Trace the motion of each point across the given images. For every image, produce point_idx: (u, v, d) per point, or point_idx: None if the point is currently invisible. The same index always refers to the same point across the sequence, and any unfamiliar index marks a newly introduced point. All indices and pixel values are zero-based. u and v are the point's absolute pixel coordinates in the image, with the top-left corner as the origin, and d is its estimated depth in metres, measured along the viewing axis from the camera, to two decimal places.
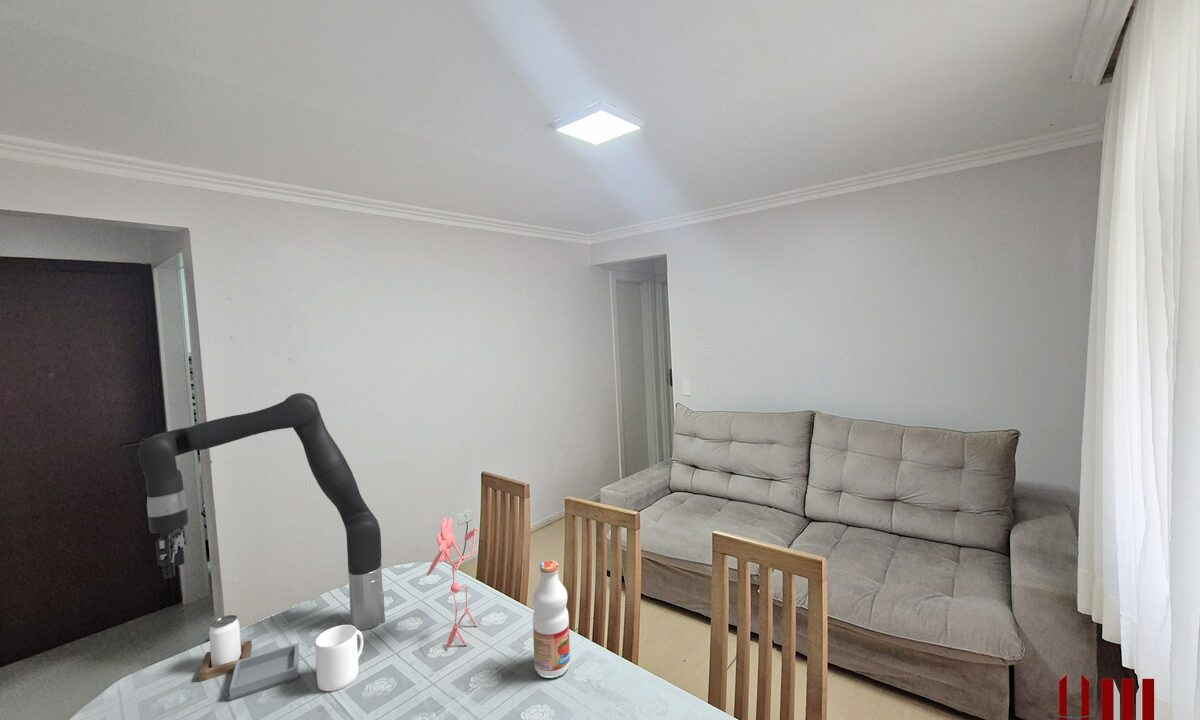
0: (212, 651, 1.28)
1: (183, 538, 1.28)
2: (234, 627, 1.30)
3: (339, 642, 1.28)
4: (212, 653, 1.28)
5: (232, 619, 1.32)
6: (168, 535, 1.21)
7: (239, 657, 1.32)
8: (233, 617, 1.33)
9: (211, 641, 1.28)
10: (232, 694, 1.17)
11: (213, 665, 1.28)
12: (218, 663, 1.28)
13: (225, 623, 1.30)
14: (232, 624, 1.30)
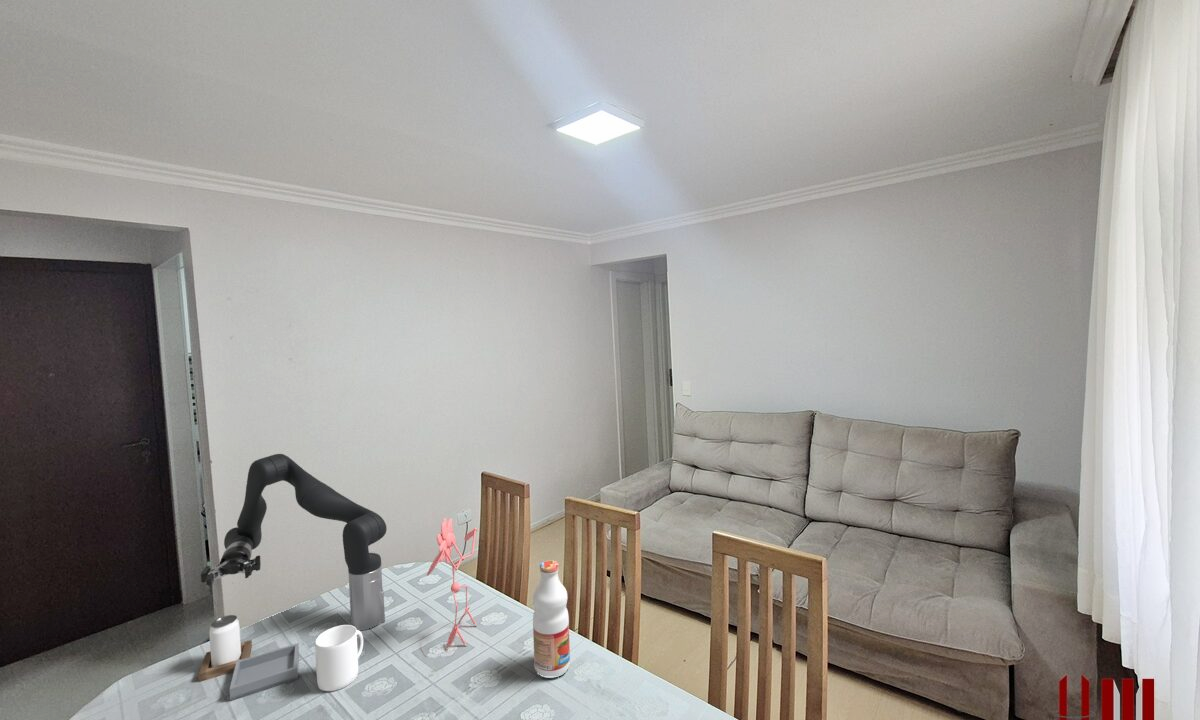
0: (212, 651, 1.28)
1: (245, 560, 1.47)
2: (234, 627, 1.30)
3: (339, 642, 1.28)
4: (212, 653, 1.28)
5: (232, 619, 1.32)
6: None
7: (239, 657, 1.32)
8: (233, 617, 1.33)
9: (211, 641, 1.28)
10: (232, 694, 1.17)
11: (213, 665, 1.28)
12: (218, 663, 1.28)
13: (225, 623, 1.30)
14: (232, 624, 1.30)
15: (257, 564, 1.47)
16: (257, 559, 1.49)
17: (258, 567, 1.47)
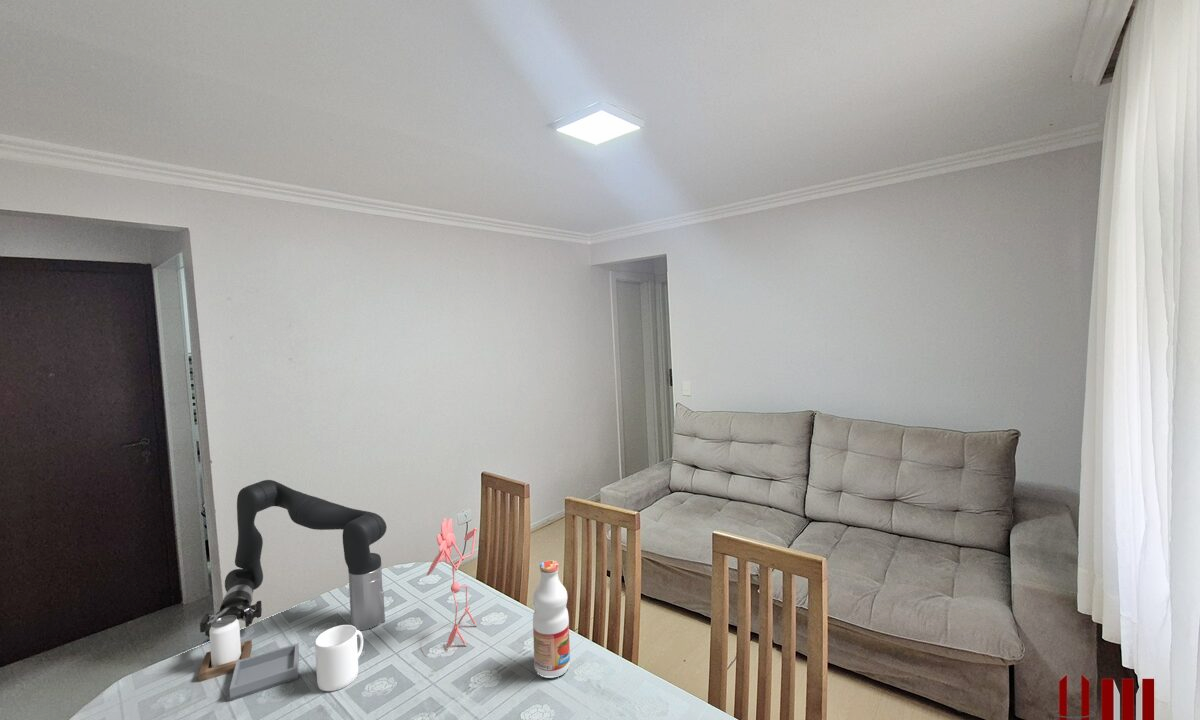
0: (212, 651, 1.28)
1: (245, 607, 1.43)
2: (234, 627, 1.30)
3: (339, 642, 1.28)
4: (212, 653, 1.28)
5: (232, 619, 1.32)
6: None
7: (239, 657, 1.32)
8: (233, 617, 1.33)
9: (211, 641, 1.28)
10: (232, 694, 1.17)
11: (213, 665, 1.28)
12: (218, 663, 1.28)
13: (225, 623, 1.30)
14: (232, 624, 1.30)
15: (258, 611, 1.42)
16: (258, 605, 1.44)
17: (259, 614, 1.42)
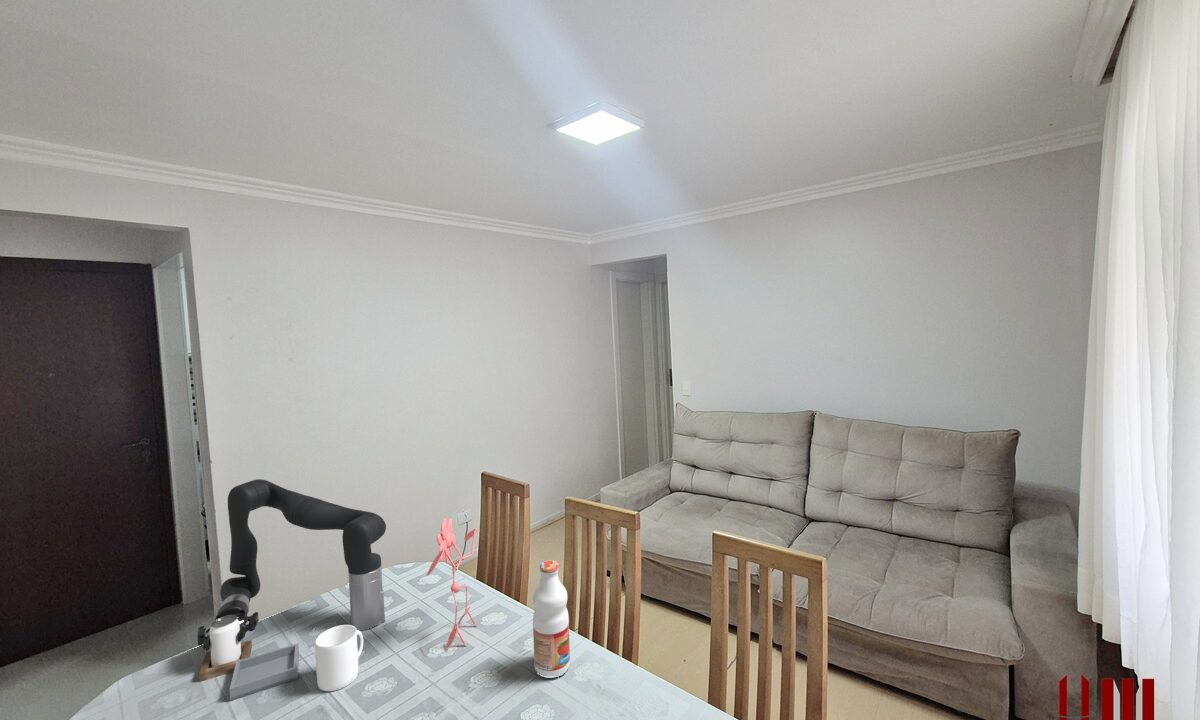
0: (212, 651, 1.28)
1: (240, 619, 1.36)
2: (234, 627, 1.30)
3: (339, 642, 1.28)
4: (212, 653, 1.28)
5: (232, 619, 1.32)
6: None
7: (239, 657, 1.32)
8: (233, 617, 1.33)
9: (211, 641, 1.28)
10: (232, 694, 1.17)
11: (213, 665, 1.28)
12: (218, 663, 1.28)
13: (225, 623, 1.30)
14: (232, 624, 1.30)
15: (251, 624, 1.35)
16: (253, 617, 1.38)
17: (252, 627, 1.36)
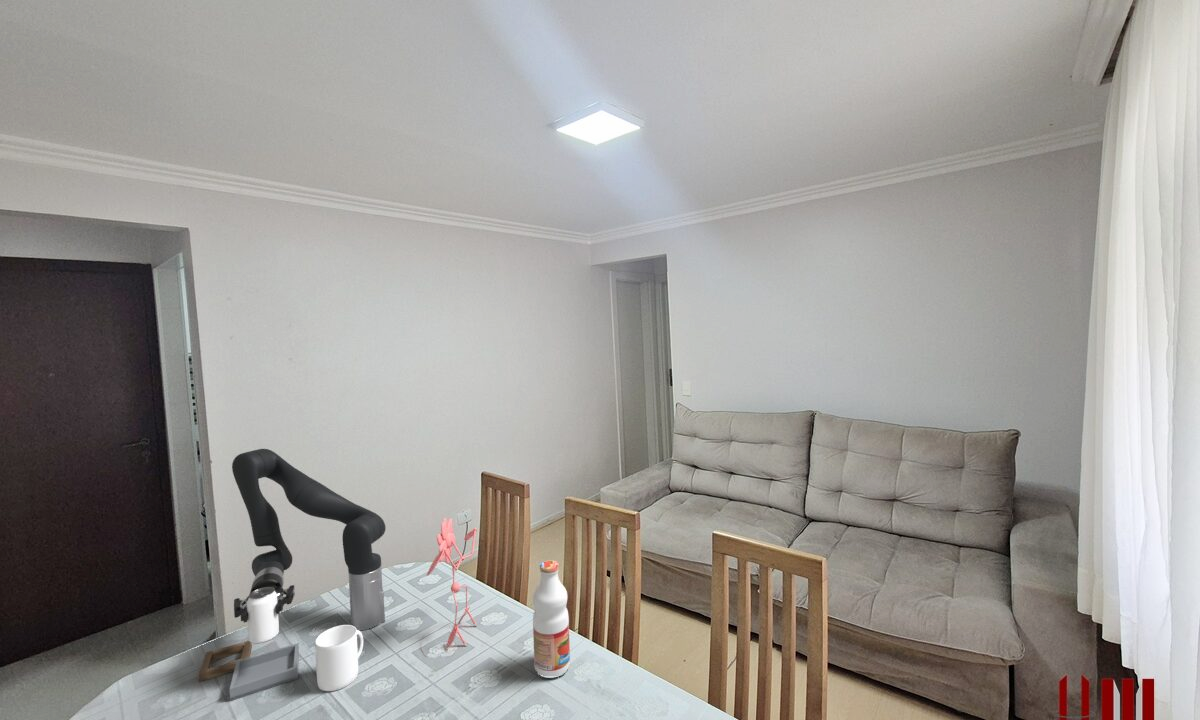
0: (250, 623, 1.22)
1: (276, 591, 1.31)
2: (273, 598, 1.25)
3: (339, 642, 1.28)
4: (249, 626, 1.22)
5: (270, 591, 1.26)
6: None
7: (277, 630, 1.26)
8: (271, 589, 1.27)
9: (249, 613, 1.22)
10: (232, 694, 1.17)
11: (251, 638, 1.23)
12: (256, 636, 1.22)
13: (263, 595, 1.24)
14: (270, 596, 1.24)
15: (288, 597, 1.30)
16: (289, 590, 1.32)
17: (289, 600, 1.30)
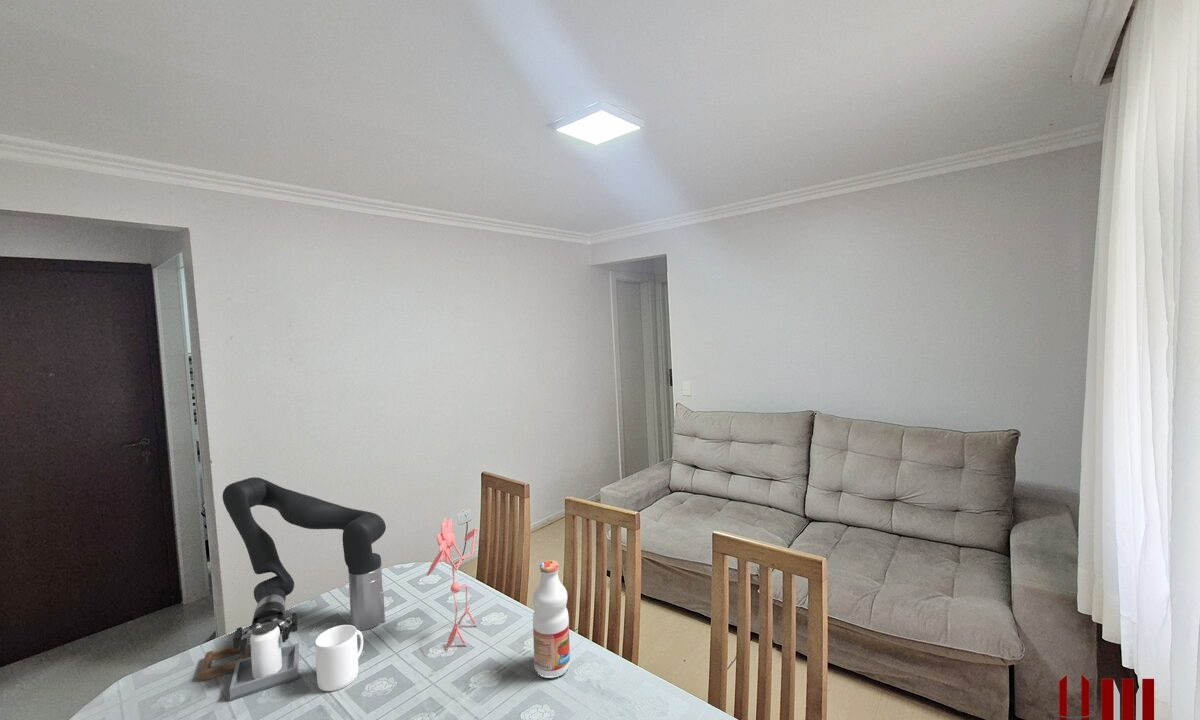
0: (253, 660, 1.23)
1: (280, 620, 1.31)
2: (275, 634, 1.25)
3: (339, 642, 1.28)
4: (252, 662, 1.23)
5: (273, 626, 1.26)
6: None
7: (280, 666, 1.26)
8: (273, 624, 1.27)
9: (252, 649, 1.23)
10: (232, 694, 1.17)
11: (254, 674, 1.23)
12: (259, 672, 1.23)
13: (266, 630, 1.25)
14: (273, 631, 1.25)
15: (294, 624, 1.31)
16: (294, 618, 1.33)
17: (295, 628, 1.31)
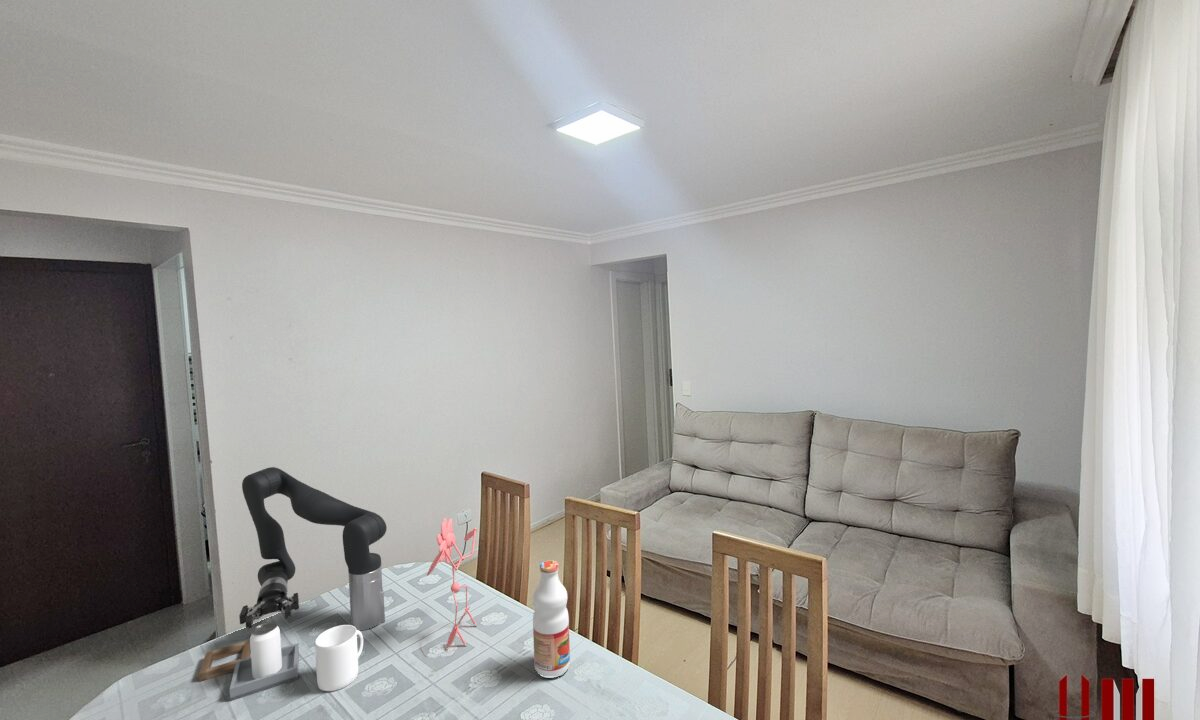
0: (253, 659, 1.23)
1: (283, 599, 1.42)
2: (275, 634, 1.25)
3: (339, 642, 1.28)
4: (252, 662, 1.23)
5: (273, 626, 1.26)
6: None
7: (280, 666, 1.26)
8: (273, 624, 1.27)
9: (252, 649, 1.23)
10: (232, 694, 1.17)
11: (254, 674, 1.23)
12: (259, 672, 1.23)
13: (266, 630, 1.25)
14: (273, 631, 1.25)
15: (296, 603, 1.42)
16: (295, 597, 1.44)
17: (297, 606, 1.42)
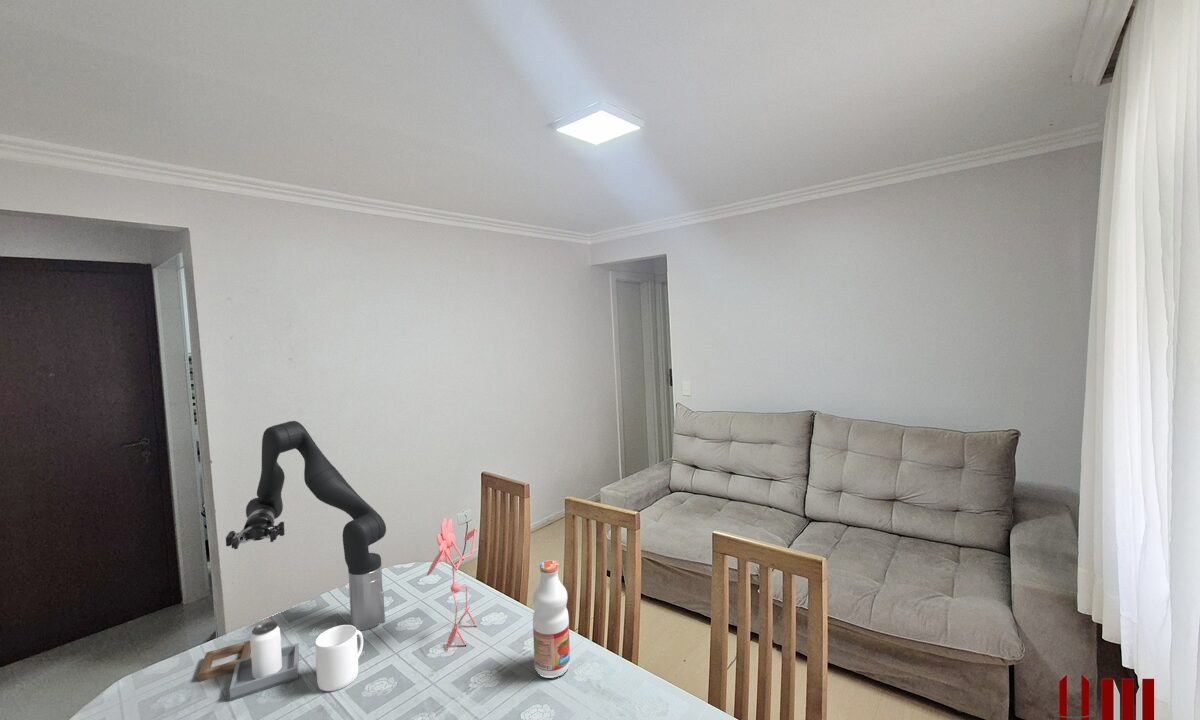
0: (253, 659, 1.23)
1: (269, 526, 1.46)
2: (275, 634, 1.25)
3: (339, 642, 1.28)
4: (253, 662, 1.23)
5: (273, 626, 1.27)
6: None
7: (280, 666, 1.26)
8: (274, 624, 1.28)
9: (252, 649, 1.23)
10: (232, 694, 1.17)
11: (254, 674, 1.23)
12: (259, 672, 1.23)
13: (266, 630, 1.25)
14: (273, 631, 1.25)
15: (281, 529, 1.46)
16: (281, 525, 1.48)
17: (282, 532, 1.46)
